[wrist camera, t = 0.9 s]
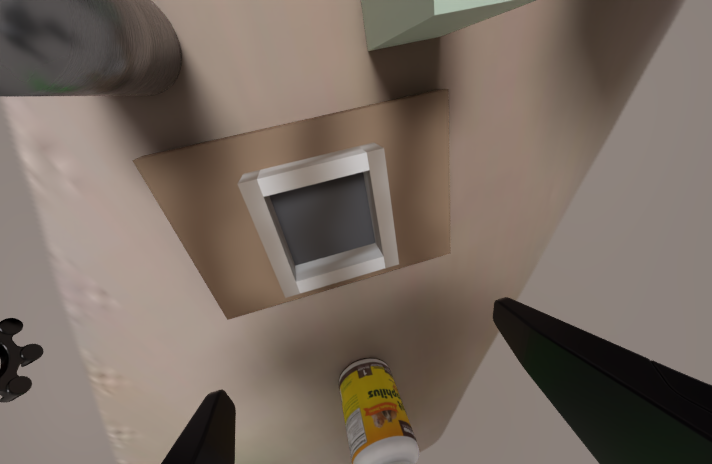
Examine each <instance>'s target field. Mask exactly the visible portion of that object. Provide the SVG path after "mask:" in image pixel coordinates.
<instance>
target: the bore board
mask: <svg viewBox="0 0 712 464" xmlns="http://www.w3.org/2000/svg"><path fill="white" fill-rule="evenodd" d="M133 162H134V164H135V165H136V167H137V169H138V170H139V172H140V174H141V175H142V177H143V179H144V180H145V182H146V184H147V185H148V187H149V189H150V190H151V192H152V194H153V196H154V197H155V199H156V201H157V202H158V204H159V206H160V207H161V209H162V211H163V212H164V214H165V216H166V217H167V219H168V221H169V222H170V224H171V226H172V227H173V229H174V231H175V232H176V234H177V236H178V237H179V239H180V241H181V242H182V244H183V246H184V248H185V249H186V251H187V253H188V254H189V256H190V258H191V259H192V261H193V263H194V264H195V266H196V268H197V269H198V271H199V273H200V274H201V276H202V278H203V279H204V281H205V283H206V284H207V286H208V288H209V289H210V291H211V293H212V294H213V296H214V298H215V300H216V301H217V303H218V305H219V306H220V308H221V310H222V311H223V313H224V315H225V316H226V318H227V320H228V319H231V318H235V317H238V316H242V315H245V314H248V313H252V312H255V311H258V310H262V309H265V308H268V307H272V306H275V305H278V304H282V303H285V302H288V301H292V300H295V299H299V298H302V297H305V296H309V295H312V294H315V293H319V292H322V291H325V290H329V289H332V288H335V287H339V286H342V285H345V284H349V283H352V282H356V281H359V280H362V279H366V278H369V277H372V276H376V275H379V274H382V273H386V272H389V271H392V270H396V269H399V268H402V267H406V266H409V265H413V264H416V263H419V262H423V261H426V260H429V259H433V258H436V257H439V256H443V255H446V254H449V253H450V177H449V100H448V89H441V90H435V91H430V92H426V93H421V94H417V95H412V96H408V97H403V98H399V99H394V100H390V101H386V102H381V103H377V104H372V105H368V106H363V107H359V108H354V109H350V110H346V111H341V112H337V113H332V114H328V115H323V116H319V117H314V118H310V119H305V120H301V121H297V122H292V123H288V124H283V125H279V126H274V127H270V128H265V129H261V130H257V131H252V132H248V133H243V134H239V135H234V136H230V137H225V138H221V139H216V140H212V141H208V142H203V143H199V144H194V145H190V146H185V147H181V148H176V149H172V150H168V151H163V152H159V153H154V154H150V155H145V156H142V157H140V158H137V159H135V160H133Z"/></svg>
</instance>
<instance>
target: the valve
mask: <svg viewBox="0 0 712 464" xmlns="http://www.w3.org/2000/svg"><path fill="white" fill-rule="evenodd" d="M22 328H23V323H22V322H21V321H20V320H18V319H15V318H8V319H5V320H3V321H1V322H0V359H1V368H0V395H2V396H3V397H2V398H1V399H0V402H10V401H12V400H14V399H16V398H17V397H19V396H21V395H23V394H24V393H26V392H27V391H28V390H29V389H30V388H31V386H32V382H31V380H30V379H29V378H28V377H25V376H18V375H17V370H18V367H19V365H20V364H21V366H22V367H24V366H26V365H28V364H30V363H32V362H33V361H35V360H37V359H38V358H40V357H41V356H42V354H43V348H42V347H41V346H40V345H37V344H29V345H26V346H24V347H19V346H17V345H16V344H15V343H14V342H13V340H12V337H13V335H15V334H17V333H18V332H20V331H21V330H22Z"/></svg>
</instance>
